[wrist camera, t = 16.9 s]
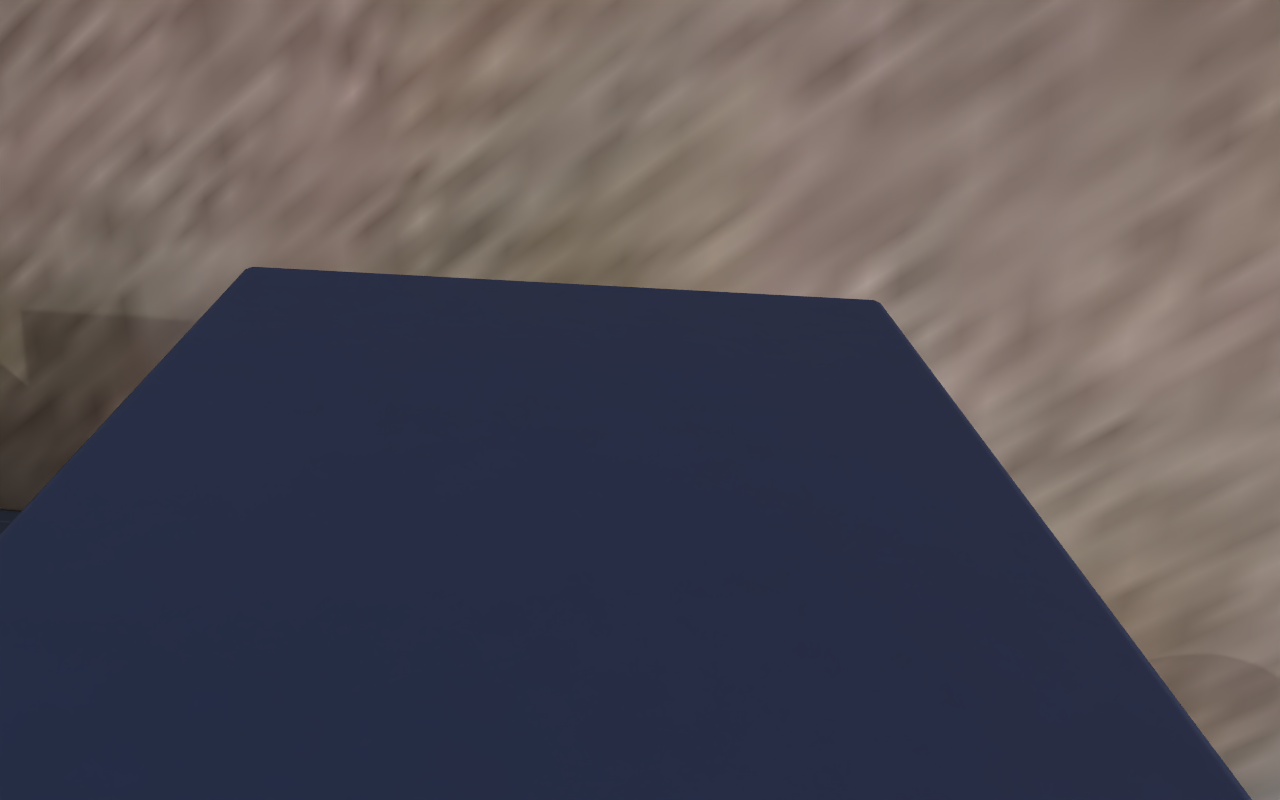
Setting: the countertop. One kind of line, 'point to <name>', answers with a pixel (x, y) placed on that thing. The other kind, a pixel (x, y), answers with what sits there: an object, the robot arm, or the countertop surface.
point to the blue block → (558, 568)
